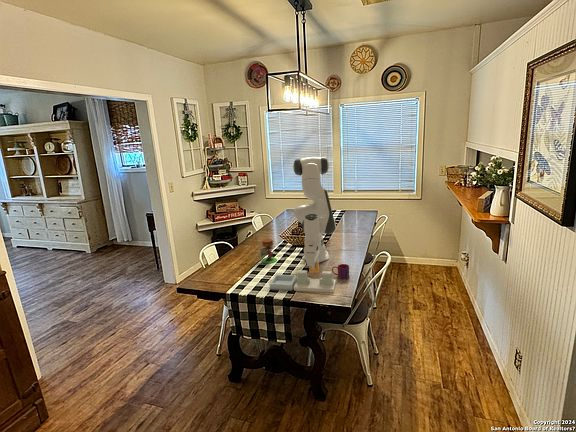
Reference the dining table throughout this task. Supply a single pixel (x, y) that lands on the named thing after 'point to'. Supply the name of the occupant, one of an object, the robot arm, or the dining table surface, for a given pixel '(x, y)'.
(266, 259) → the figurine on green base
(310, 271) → the orange fuse
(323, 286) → the fuse holder
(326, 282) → the green fuse
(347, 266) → the mug
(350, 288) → the dining table surface
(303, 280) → the green fuse
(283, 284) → the tray
